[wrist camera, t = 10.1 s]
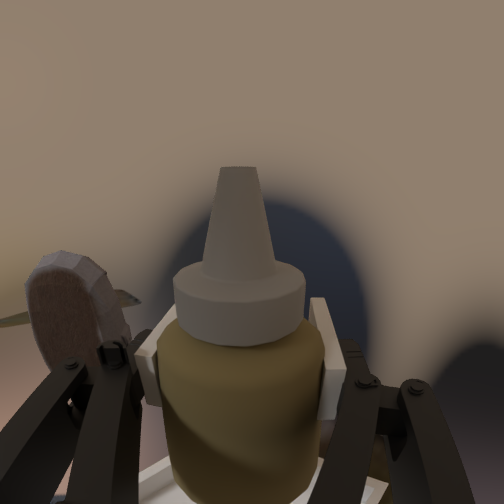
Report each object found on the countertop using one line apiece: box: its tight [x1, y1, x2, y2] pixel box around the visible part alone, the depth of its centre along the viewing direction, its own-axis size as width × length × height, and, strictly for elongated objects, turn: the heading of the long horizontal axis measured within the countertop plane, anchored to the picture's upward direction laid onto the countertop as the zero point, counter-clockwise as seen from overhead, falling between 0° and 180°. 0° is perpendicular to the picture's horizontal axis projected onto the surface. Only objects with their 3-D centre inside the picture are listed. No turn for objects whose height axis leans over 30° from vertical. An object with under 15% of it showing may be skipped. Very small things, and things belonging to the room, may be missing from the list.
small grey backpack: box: [25, 250, 132, 371], centre depth 33 cm, size 15×8×20 cm, turn 96°
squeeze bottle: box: [157, 167, 325, 504], centre depth 12 cm, size 8×8×18 cm
